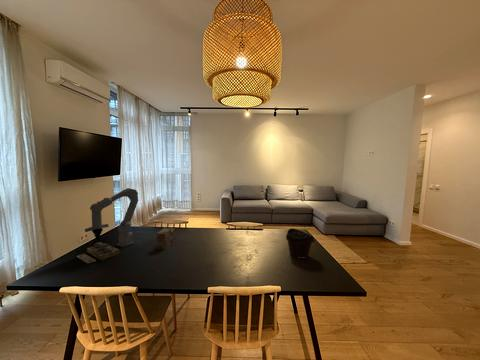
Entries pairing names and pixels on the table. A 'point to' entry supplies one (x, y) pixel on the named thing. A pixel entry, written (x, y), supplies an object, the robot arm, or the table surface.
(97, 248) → the button
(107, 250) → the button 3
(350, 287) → the table surface
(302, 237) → the black bin
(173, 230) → the stack of blocks
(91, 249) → the wooden tray
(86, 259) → the pattern card
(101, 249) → the button
